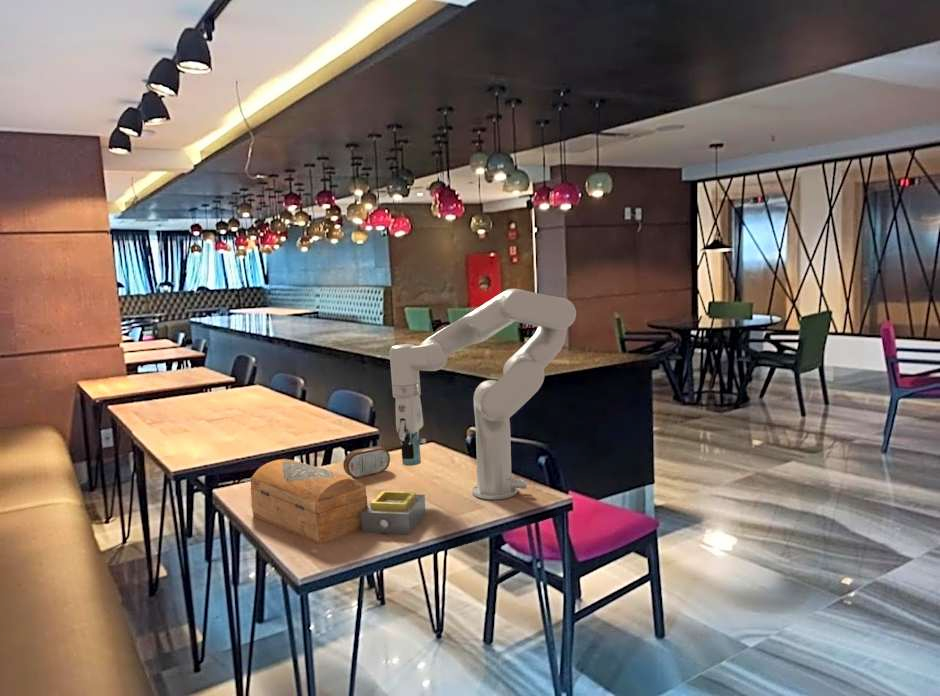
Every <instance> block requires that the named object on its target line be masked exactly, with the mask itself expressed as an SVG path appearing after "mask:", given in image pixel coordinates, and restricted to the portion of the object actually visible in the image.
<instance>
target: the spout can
mask: <svg viewBox="0 0 940 696" xmlns="http://www.w3.org/2000/svg"><path fill="white" fill-rule="evenodd" d="M407 433H409V432H408V431H407ZM406 436H407V437H408V439H409V435H406ZM426 443H427V439H426V438H420V432H419V433H415V434H412V444H413V450H414V458H413V459H403V458H402V457H401V458H402V459H401V460H402V465H403V466H407V467H408V466H409V467H413V466H417V465H420V464H421V463H422V459H421V458H422V457H421V445H420V444H426Z"/></svg>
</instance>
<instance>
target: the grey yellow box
mask: <svg viewBox="0 0 940 696" xmlns="http://www.w3.org/2000/svg"><path fill="white" fill-rule="evenodd" d="M425 496H426V495H425V494H417V491H396V490H395V491H394V490H382V491H381V492H380V493H379V494H377V496H376V497H374V498H373V499H372V500H371V502H370V503H369V504H367V507H366V508H365V509H364V510H363V511H362V512H361V521H362V528H361V532H362V533H374V534H389V535H390V534H393V535H411V533H412V532H413V530H414V529H415V528H416V527H417V525H418V524H419V523H420V521H421V520H422V519H423V518H424V517H425V515H426V497H425Z"/></svg>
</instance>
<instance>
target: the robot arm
mask: <svg viewBox="0 0 940 696" xmlns="http://www.w3.org/2000/svg"><path fill="white" fill-rule="evenodd" d="M576 316H577V310H576V308H575V305H574V304H573V302H572V301H571V300H569V299H567V298H565V297H561V296H560V297H559V296H554V295H553V296H552V295H549V294H542V293H537V292H532V291H529V290H525V289H519V288H509V289H506V290H504V291H502V292H501V293H499V294H498V295H496V296H494V297H493V298H491V299H490V300H488V301H486V302H484V304H482V305H480V306H479V307H477V308H475V309H474V310H472V311H471V312H469V313H467V314H466V315H464V316H463V317H460V318H459V319H457V320H456V321H454V322H453V323H450V324H449V325H447V326H445V327H443V328H442V329H440V330H439V331H437V332H436V333H434V334H433V335H431V336H429V337H428V338H426V339H425V340H423V341H422V342H421V343H420V344H419V345H415V344H412V343H404V344H403V343H401V344H396V345H393V346H391V347H390V349H389V362H390V376H391V388H392V397H393V398H394V399H395V403H394V404H395V426H396V427H395V428H396V432H397V434H398V438H399V439H400V447H401V458H403V459H413V458H414V450H413V444H412V434H415V433H419V434H420V430H421V429H422V427H423V426H424V416H423V406H422V402H421V400H422V399H421V397H420V396H421V394H422V392H421V379H420V371H421V372H422V371H423V372H424V371H425V372H436V371H439V370H441V369H442V368H444V367H445V366H446V365H447V362H448V357H450V356H451V355H453V354H454V353H456V352H458V351H459V350H462V349H463V348H466V347H468V346H471V345H475V344H479V343H482V342H484V341H486V340H489V338H491V337H493V336H494V335H495V334H498V332H500V331H502V330H503V329H505V328H507V327H509V326H510V325H512V324H513V323H514V322H516V323H520V324H525V325H530V326H535V327H537V328H536V329H535V332H534V334H533V335H532V336H531V337H530V338H529V339H528V340H527V342H525V344H524V345H522V346H521V347H520V348H519V349H518V350H517V351H516V352H514V354H513V355H512V356H510V358H509V359H508V360H506V362H505V364H504V365H503V369H502V370H503V372H502V374H503V375H501V377H499V379H498V380H495V379H487V380H484V381H482V382H481V383H479V385H477V387H476V388H475V391H474V392H473V412H474V420H475V422H474V423H475V444H476V445H475V447H476V449H475V450H476V473H477V474H476V475H477V479H476V480H477V481H476V482H477V484H476V485H474V486H473V487H472V489H471V491H472V495H473V496H475V497H477V498H480V499H483V500H503V499H508V498H512V497H514V496H515V495H517V493H518V489H525V490H526V489H528V481H525V480H524V479H516V478H515V474H513V473H512V456H511V455H512V453H511V451H512V450H511V449H512V447H511V421H510V418H511V417H512V416H513V415H514V414H516V413H517V412H518V411H519V410H520V409H522V407H523V406H524V405H525V404H527V402H529V400H530V399H531V398H532V397H533V396H534V395H535V394H536V393H537V392H538V391H539V389H541V387H542V385H543V383H544V382H545V381H544V380H545V369H546V367H548V365H549V364H550V363H551V362H552V361H553V360H554V359H555V358H556V357H557V356H558V354H559V353H560V352H561V350H562V349H563V347H564V344H565V341H566V338H567V331H568V328H569V327H570V326H572V325H573V323H574V322H575V321H576V318H577V317H576ZM408 432H409V433H408ZM406 435H409V439H408V437H407V436H406Z"/></svg>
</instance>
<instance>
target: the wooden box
mask: <svg viewBox="0 0 940 696" xmlns="http://www.w3.org/2000/svg"><path fill="white" fill-rule="evenodd" d="M250 496H251V497H250V498H251V500H250V501H251V510H252V515H253V517H254V518H256V519H259V520H261V521H264V522H266V523H268V524H271V525H273V526H275V527H278V528H280V529H283V530H285V531H287V532H290V533H292V534H295V535H297V536H299V537H301V538H304V539H306V540H308V541H311V542H313V543H316V544H319V545H321V544H323V543H326V542H329V541H331V540H334V539H337V538H340V537H342V536H345V535H348V534H349V533H352V532H356V531H357V530H360V529H362V521H361V512H362V511H363V510H364V509H365V508H366V507H367V506H368V496H367V487H366V485H365V484H363V483H361V482H360V481H358V480H356V478H354V477H352V476H349V475H345V474H341V473H337V472H334V471H331V470H329V469H327V468H323V467H318V466H315V465H312V464H308V463H303V462H300V461H297V460H294V459H288V458H282V459H275V460H272V461H270V462H267V463H265V464H263V465H261V466H260V467H259V468H258V469H256V471H255V473H253V475H252V476H251V478H250Z"/></svg>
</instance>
